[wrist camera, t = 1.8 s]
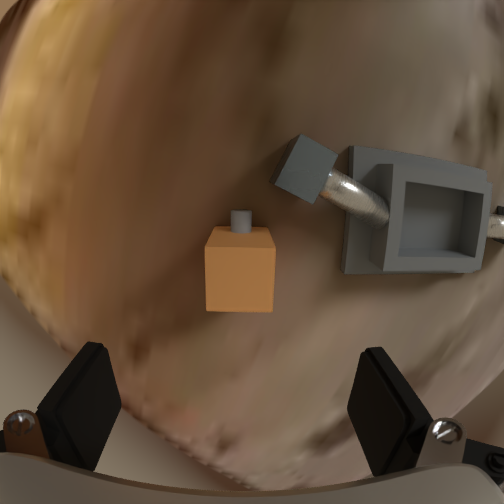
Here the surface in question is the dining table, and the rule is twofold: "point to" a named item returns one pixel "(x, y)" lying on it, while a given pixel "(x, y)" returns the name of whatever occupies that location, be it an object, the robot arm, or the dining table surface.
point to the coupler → (240, 266)
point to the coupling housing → (417, 215)
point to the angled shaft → (326, 181)
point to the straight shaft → (496, 225)
